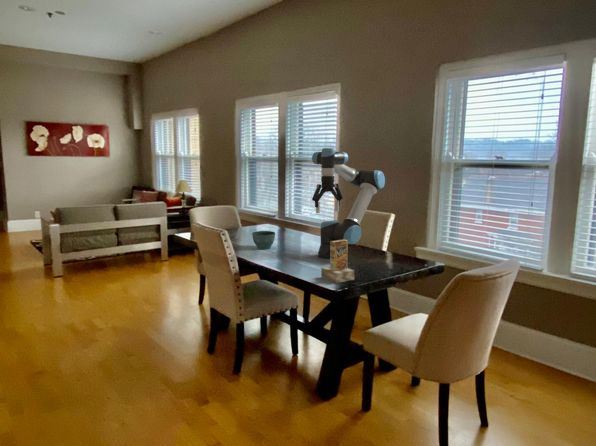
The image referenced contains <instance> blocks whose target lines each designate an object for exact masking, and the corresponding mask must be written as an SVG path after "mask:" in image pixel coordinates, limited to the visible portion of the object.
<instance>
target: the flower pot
mask: <svg viewBox="0 0 596 446" xmlns="http://www.w3.org/2000/svg"><path fill="white" fill-rule="evenodd" d="M251 235H252V241H253V243H254V244H255V246H256V248H257V249H258V250H269V249H271V248H272V246H273V244H274V242H275V238H276V232H275V231H271V230H259V231H257V230H256V231H252V232H251Z"/></svg>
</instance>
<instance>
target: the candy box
mask: <svg viewBox="0 0 596 446" xmlns="http://www.w3.org/2000/svg"><path fill="white" fill-rule="evenodd" d="M348 246H349V244H348V240H344V239H342V240H336V241H330V259H329V262H330V263H329V265H330V266H329V267H330V269H331V270H334V271H336V270H341V269H347V268H349V267H348V264H349V263H348V260H349V259H348V258H349V257H348V256H349V255H348V254H349V253H348V252H349V251H348V249H349V247H348Z"/></svg>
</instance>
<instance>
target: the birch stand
mask: <svg viewBox="0 0 596 446" xmlns="http://www.w3.org/2000/svg"><path fill="white" fill-rule="evenodd" d="M320 272H321V278H322V279H325V280H328V281H330V282H332V283H334V284H335V283H336V284H338V283H339V284H340V283H344V282H349V281H354V280H355V274H356V273H355V269H352V268H349V267H348V268H347V269H341V270H336V271H334V270H331V269H330V266H326V267H321V271H320Z"/></svg>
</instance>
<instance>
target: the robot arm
mask: <svg viewBox="0 0 596 446" xmlns="http://www.w3.org/2000/svg"><path fill="white" fill-rule="evenodd" d="M311 161H312V163H313V164H314V165H320V166H321V167H320V169H321V170H320V171H321V172H320V174H321V176H320V177H321V178H320V179H321V181H320V183H321V184H320V183H317V184H316V189H315V190H314V194H313V196H312V198H311V200H312V202H314V207H315V213H316V214H320V213H321V209H320V208H321V202H320V200H321V198H322V197H323V195H324V194H325V193H328V192H329V193H331V194H332V196H333V197H334V199H335V200H334V212H339V211H340V210H339V209H340V205H341V202H340V201H342V200H343V199H344V198H343V195H342V192H341V190H340V187H339V185H340V184H339V183H335V176H334V175H335V174H336V175H338V176H340V177H342V178H343V180H345V181H346V182H347V183H349V184H351V185H353V186H355V187H357V188H360V191H359V192H358V195H357V197H356V199H355V201H354V203H353V204H352V205H353V206H352V207H351V209H350V212H348V213H349V214H348V215H347V217H346V218H344V219H343V221H342V222H340V221H339V220H337V219H336V220H326V221H322V222H321V223H320V228H319V229H320V245H319V248H318V252H317V257H318V258H320V259H328V260H330V241H336V240H342V239H344V240H348V245H354V244H356V243H358V242H359V241H360V240H361V237H362V226H361V222H362V220H363V219H364V215H365V213H366V212H367V209H368V207H369V205H370V202H371V200H372V198H373V197H374V195H376V194H377V193H378V191H379V190H381V189H384V187H385V184H386V177H385V174H384V172H383V171H382V170H376V169H375V170H374V169H373V170H370V169H369V170H368V169H356V168H353V167H350V166H348V165H347V163H348V161H349V155H348V153H347V152H346V151H336V150H335V148H334V147H333V148H331V147H329V148H327V147H325V148H322V149H321V151H315V152H314V153H312V156H311Z"/></svg>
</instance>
